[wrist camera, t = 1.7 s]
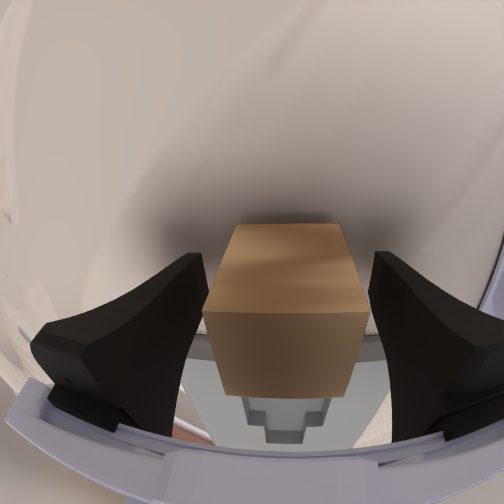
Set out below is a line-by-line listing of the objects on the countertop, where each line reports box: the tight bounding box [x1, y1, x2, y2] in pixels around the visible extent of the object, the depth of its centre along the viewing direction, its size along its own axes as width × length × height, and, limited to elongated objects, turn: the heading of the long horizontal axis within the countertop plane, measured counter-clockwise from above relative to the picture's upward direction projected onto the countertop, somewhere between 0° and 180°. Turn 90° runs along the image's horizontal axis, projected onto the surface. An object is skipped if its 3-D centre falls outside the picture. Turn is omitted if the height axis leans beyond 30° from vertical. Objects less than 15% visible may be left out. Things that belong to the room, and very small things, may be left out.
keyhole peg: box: [202, 223, 370, 399], centre depth 10 cm, size 4×4×6 cm
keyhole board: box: [181, 334, 390, 452], centre depth 19 cm, size 14×18×2 cm
